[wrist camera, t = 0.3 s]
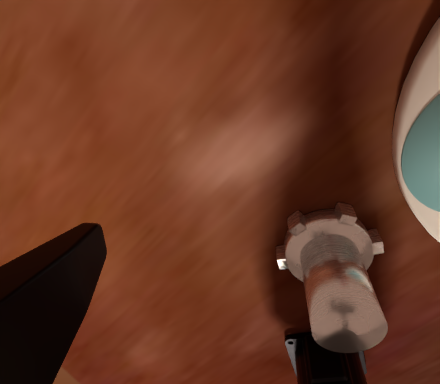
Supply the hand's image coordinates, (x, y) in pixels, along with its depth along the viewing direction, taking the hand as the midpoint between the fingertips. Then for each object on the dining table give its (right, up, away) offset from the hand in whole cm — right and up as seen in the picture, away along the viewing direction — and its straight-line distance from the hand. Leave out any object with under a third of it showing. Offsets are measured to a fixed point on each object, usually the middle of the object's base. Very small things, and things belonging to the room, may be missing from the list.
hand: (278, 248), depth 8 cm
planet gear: (+6, -2, +17) cm, 18 cm away
